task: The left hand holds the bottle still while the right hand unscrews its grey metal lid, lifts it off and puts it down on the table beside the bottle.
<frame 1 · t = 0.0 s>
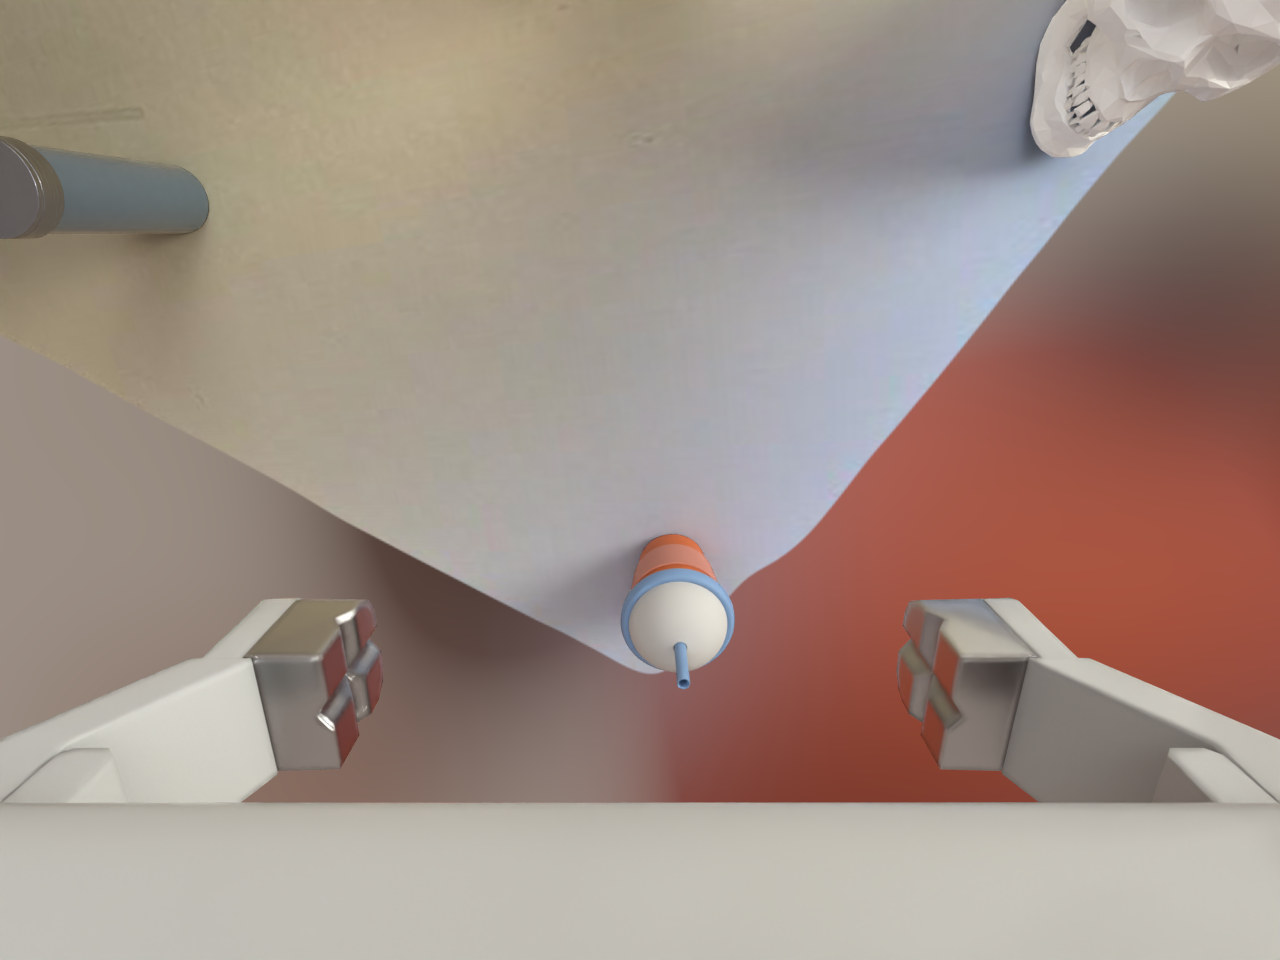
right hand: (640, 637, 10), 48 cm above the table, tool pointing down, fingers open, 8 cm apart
bottle: (176, 199, 53), on the table
skull: (1130, 7, 48), on the table
cup with straw: (671, 562, 63), on the table
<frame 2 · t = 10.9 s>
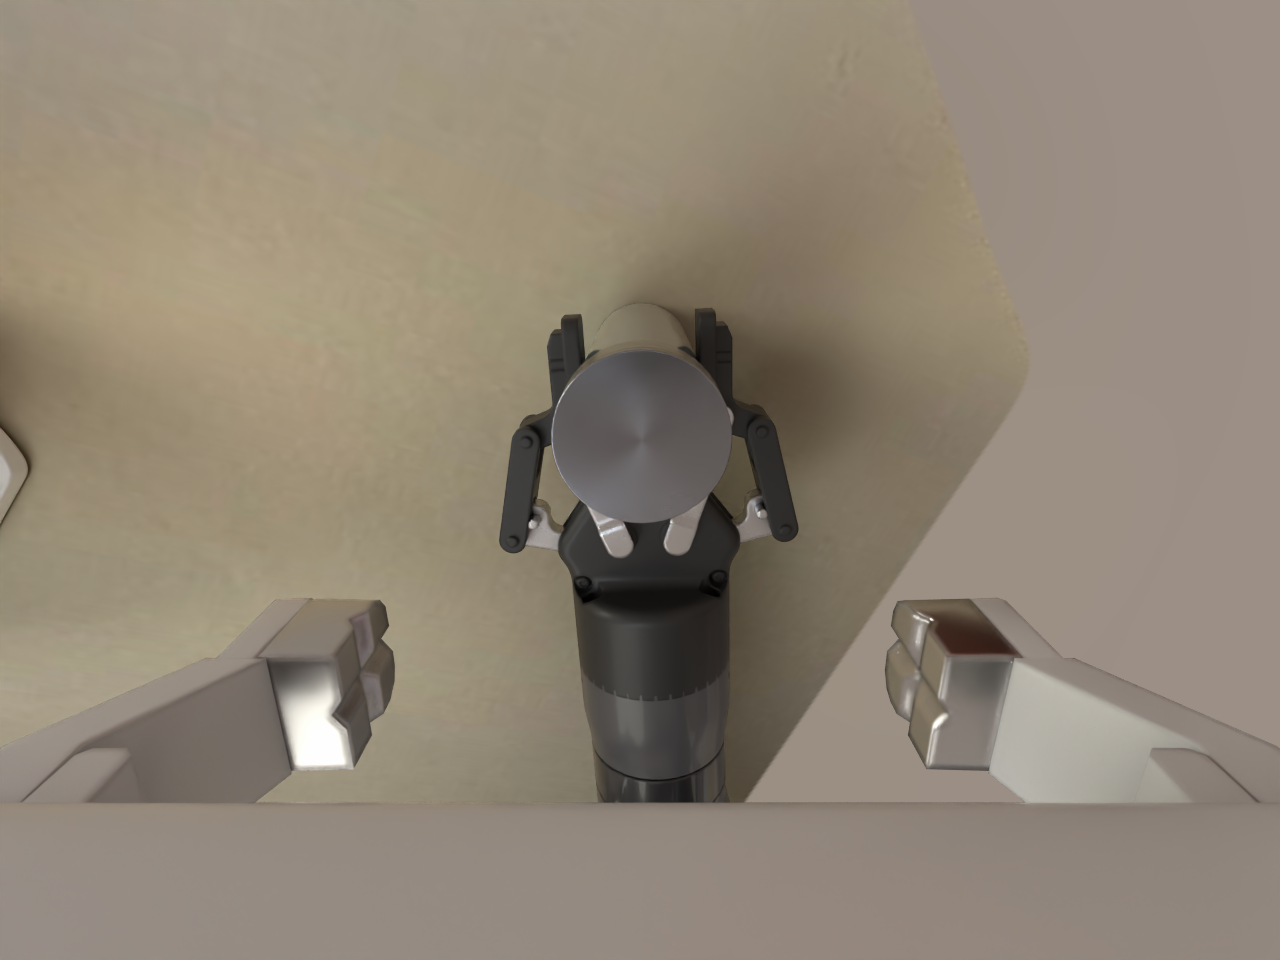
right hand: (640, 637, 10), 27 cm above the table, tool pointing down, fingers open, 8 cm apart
left hand: (637, 315, 28), fingers closed on bottle, 5 cm apart
bottle: (641, 351, 35), on the table, touching left hand
lid: (641, 437, 20), point 16 cm above the table, screwed on, not yet turned
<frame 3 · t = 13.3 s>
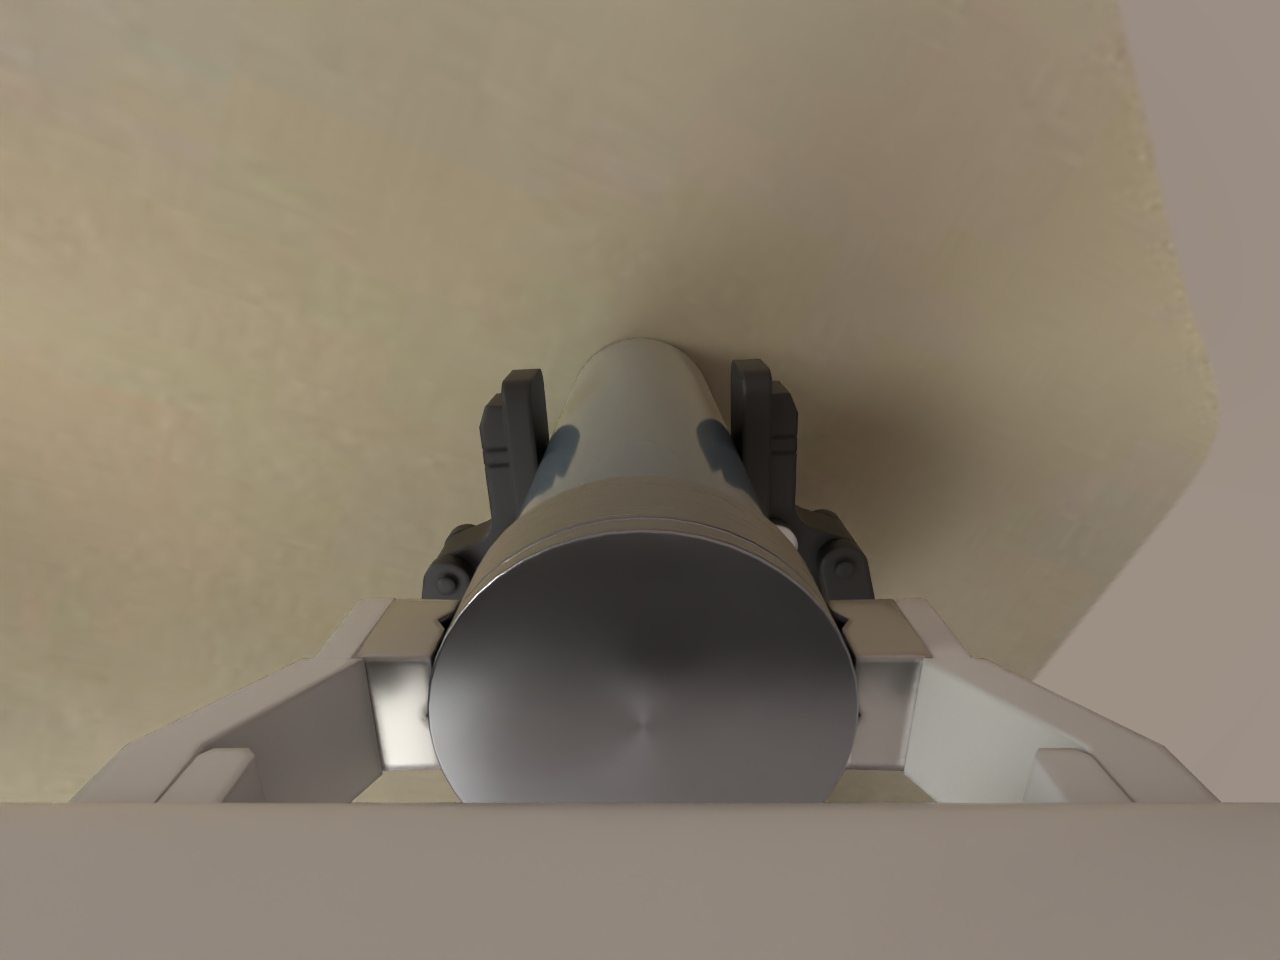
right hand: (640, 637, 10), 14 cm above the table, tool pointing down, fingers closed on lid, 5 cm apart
bottle: (640, 408, 24), on the table, touching left hand
lid: (643, 708, 9), point 16 cm above the table, screwed on, not yet turned, touching right hand
when the right hand's fingers open (14 cm above the table, at t = 14.7 s): lid stays where it is, point 16 cm above the table.
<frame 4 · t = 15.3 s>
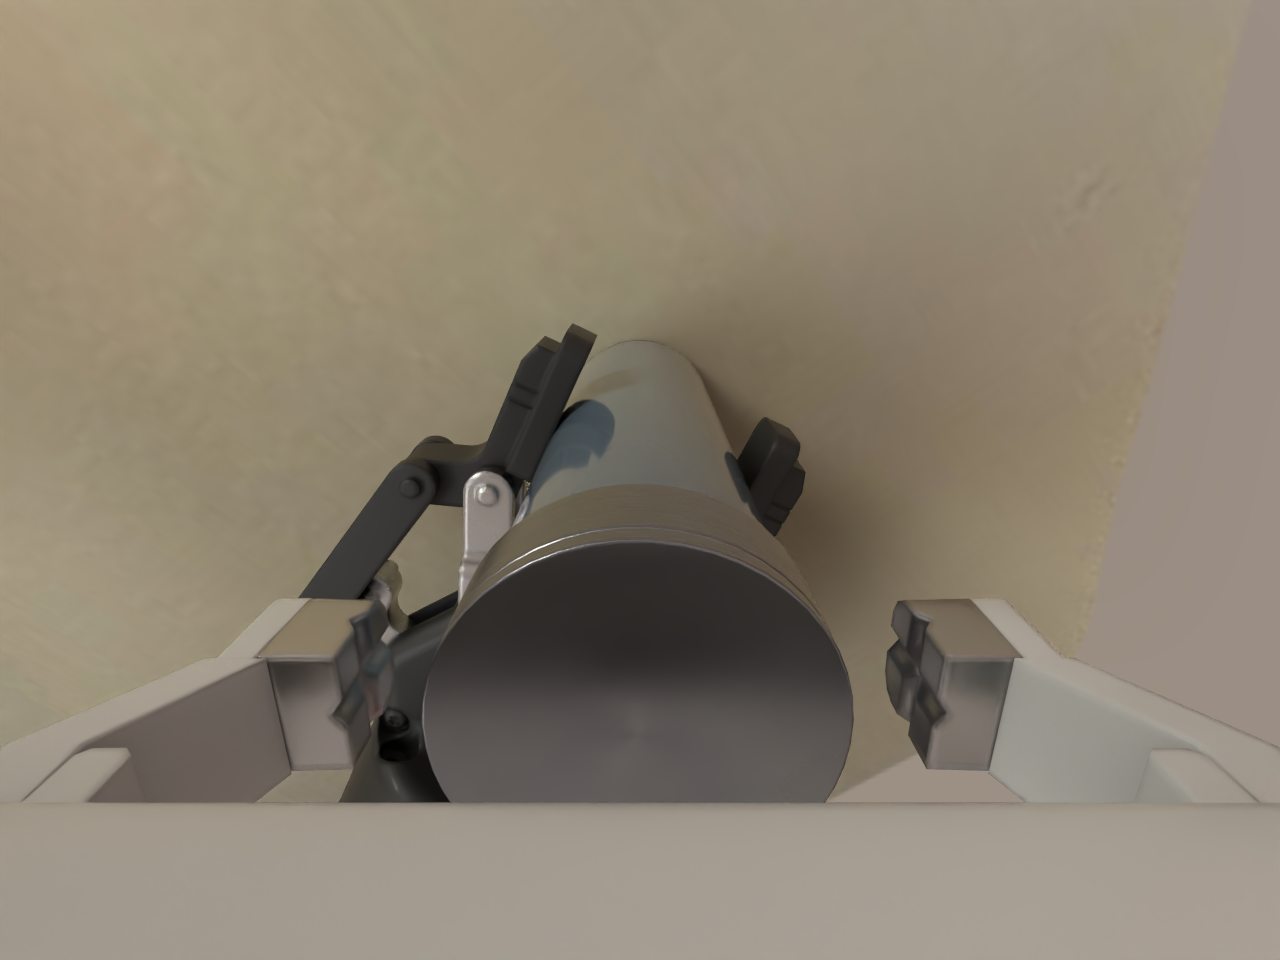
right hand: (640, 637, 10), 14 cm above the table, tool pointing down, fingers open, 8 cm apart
bottle: (639, 410, 24), on the table, touching left hand
lid: (637, 716, 9), point 16 cm above the table, turned 69° so far, risen 0.2 cm, still on its thread
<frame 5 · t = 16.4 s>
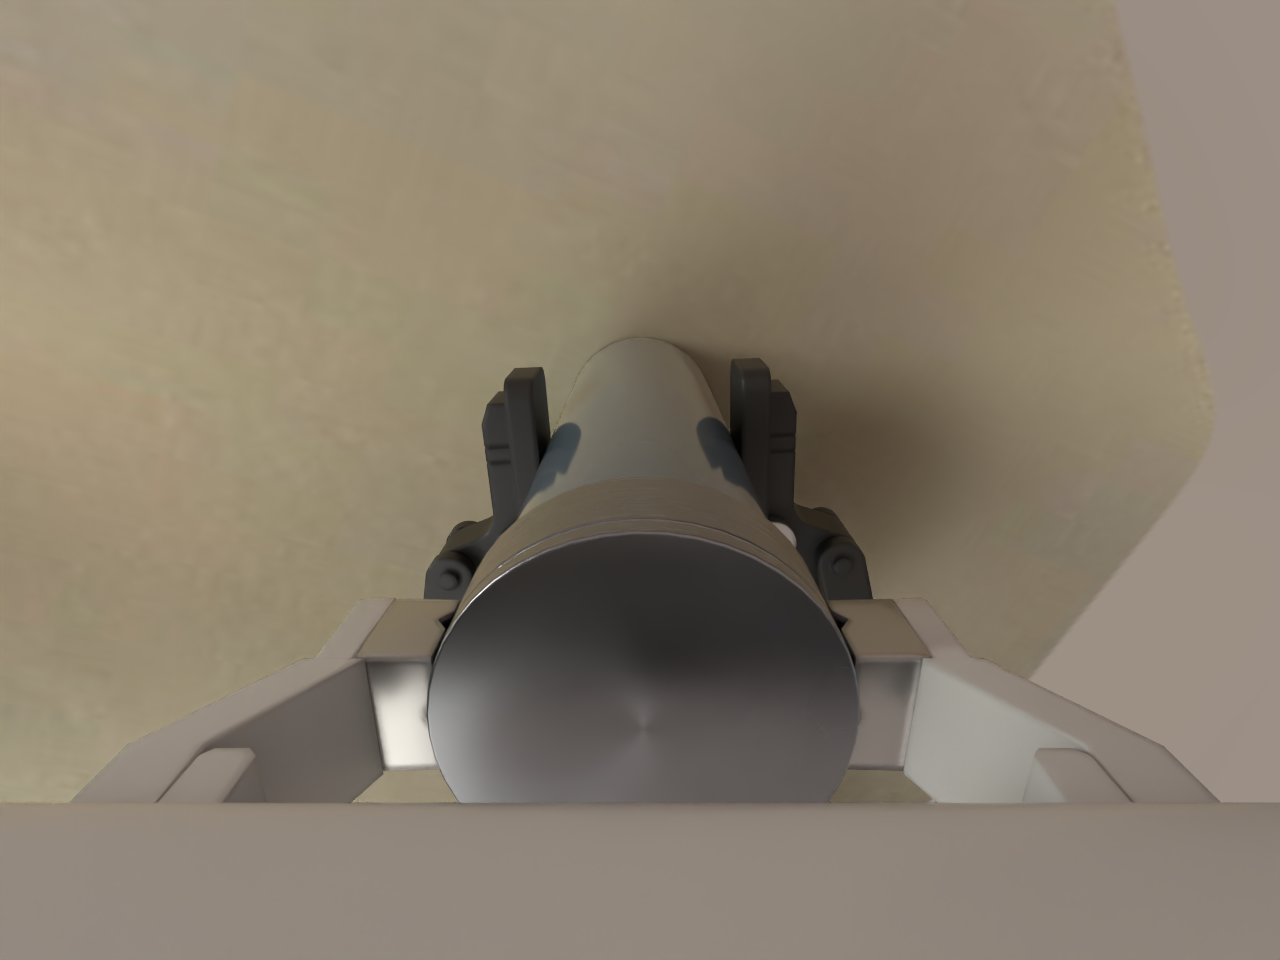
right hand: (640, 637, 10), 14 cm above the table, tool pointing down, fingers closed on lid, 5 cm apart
bottle: (641, 407, 24), on the table, touching left hand
lid: (643, 710, 9), point 16 cm above the table, turned 69° so far, risen 0.2 cm, still on its thread, touching right hand
when the right hand's fingers open (2 cm above the table, at t = 22.2 s): lid drops 2 cm, point 1 cm above the table.
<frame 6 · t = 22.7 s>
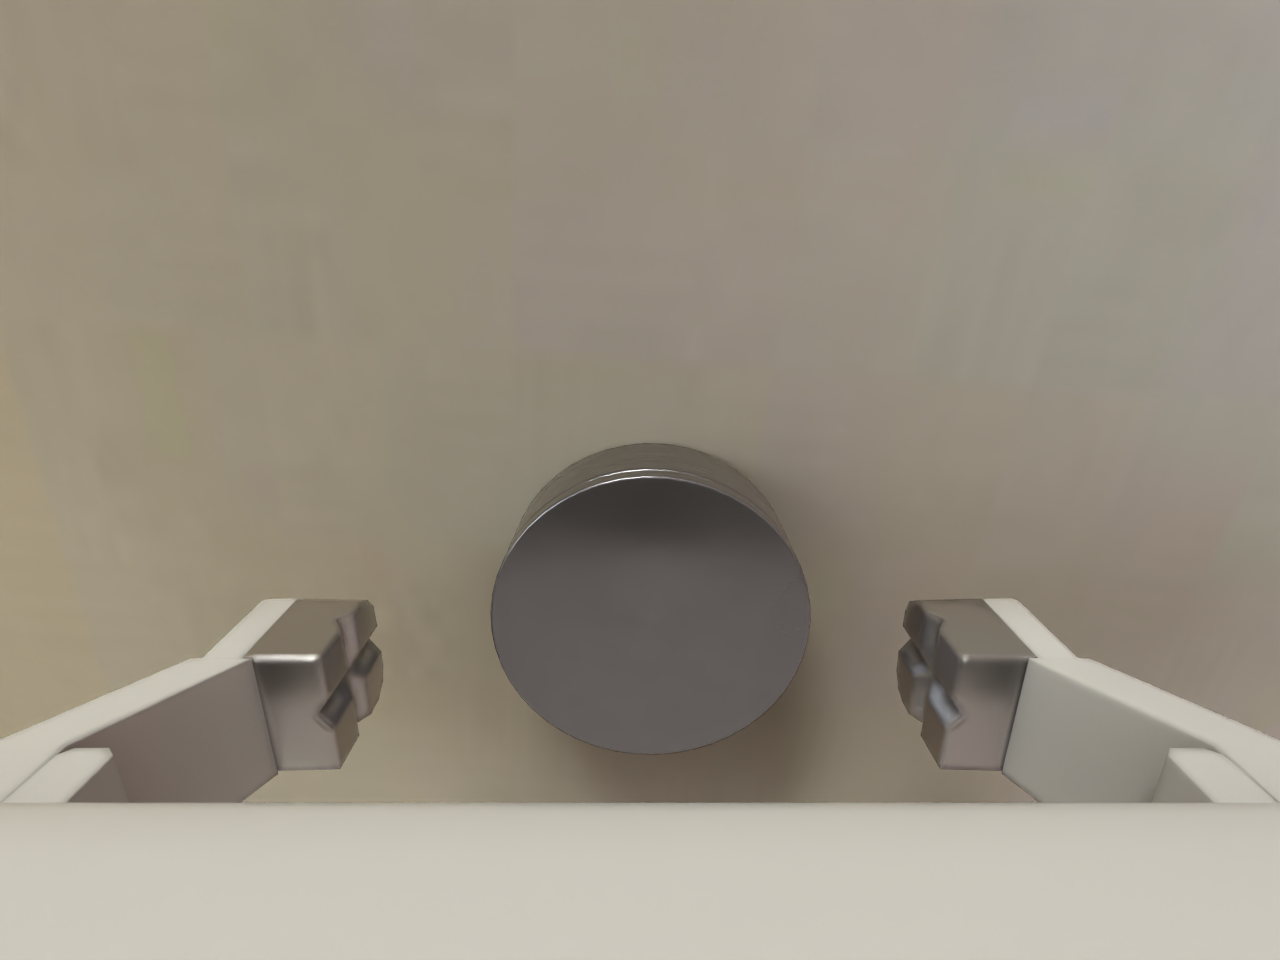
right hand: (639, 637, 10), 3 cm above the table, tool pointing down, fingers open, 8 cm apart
lid: (650, 616, 12), point 1 cm above the table, off its thread
when the left hand's fingers open (7 cm above the table, at t = 23.3 s): bottle stays where it is, on the table.
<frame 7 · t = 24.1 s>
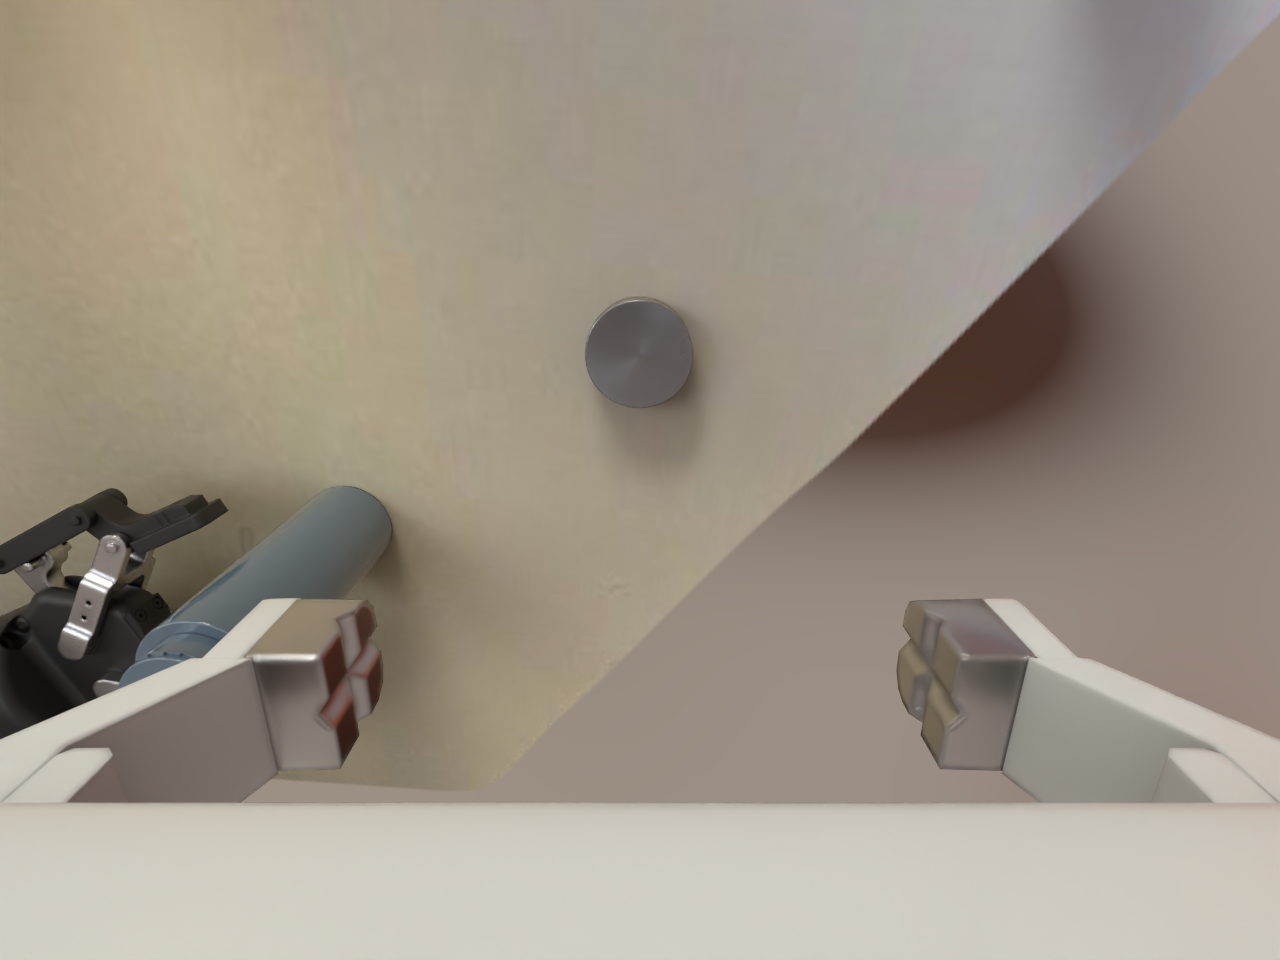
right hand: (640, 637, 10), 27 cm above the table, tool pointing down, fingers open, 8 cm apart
bottle: (349, 525, 39), on the table
lid: (638, 354, 34), point 1 cm above the table, off its thread
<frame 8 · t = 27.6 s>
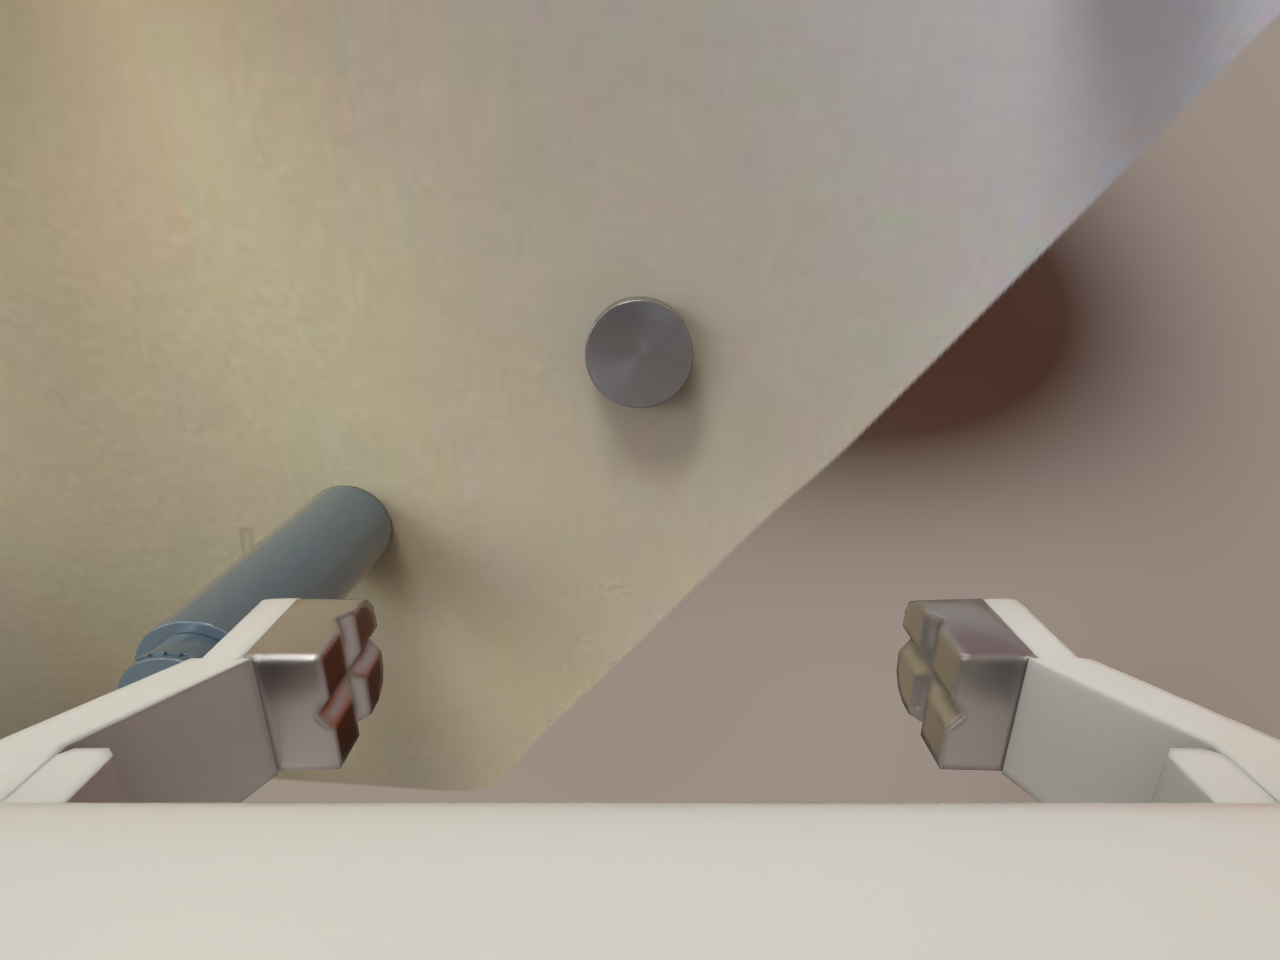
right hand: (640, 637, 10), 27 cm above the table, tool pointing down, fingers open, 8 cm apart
bottle: (349, 525, 39), on the table
lid: (638, 354, 34), point 1 cm above the table, off its thread
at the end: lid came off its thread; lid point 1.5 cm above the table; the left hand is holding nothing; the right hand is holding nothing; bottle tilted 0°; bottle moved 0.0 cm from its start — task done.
